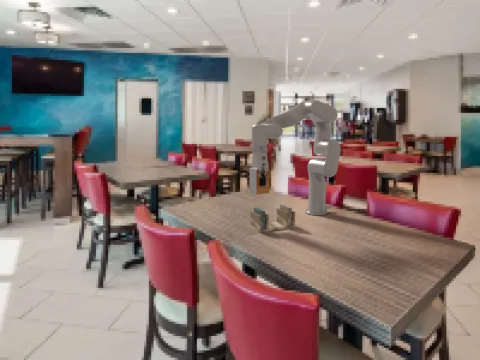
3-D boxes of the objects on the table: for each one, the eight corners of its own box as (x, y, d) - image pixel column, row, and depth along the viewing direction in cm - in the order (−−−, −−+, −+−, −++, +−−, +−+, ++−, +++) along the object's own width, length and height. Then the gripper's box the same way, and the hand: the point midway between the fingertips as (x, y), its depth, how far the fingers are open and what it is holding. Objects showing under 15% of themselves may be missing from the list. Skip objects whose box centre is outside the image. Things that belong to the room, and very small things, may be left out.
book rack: (284, 222, 200) (285, 203, 198) (294, 227, 191) (295, 207, 189) (250, 227, 192) (250, 207, 191) (259, 232, 183) (259, 212, 181)
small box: (256, 195, 190) (256, 169, 187) (249, 193, 195) (249, 167, 193) (269, 193, 194) (269, 168, 192) (262, 191, 199) (262, 166, 197)
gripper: (274, 150, 184) (273, 186, 187) (258, 147, 200) (259, 181, 203) (259, 151, 181) (260, 187, 184) (245, 148, 197) (246, 182, 200)
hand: (259, 183), depth 194 cm, fingers closed on small box, 6 cm apart
